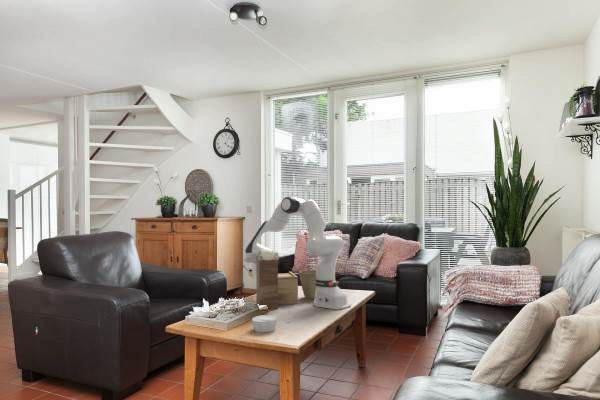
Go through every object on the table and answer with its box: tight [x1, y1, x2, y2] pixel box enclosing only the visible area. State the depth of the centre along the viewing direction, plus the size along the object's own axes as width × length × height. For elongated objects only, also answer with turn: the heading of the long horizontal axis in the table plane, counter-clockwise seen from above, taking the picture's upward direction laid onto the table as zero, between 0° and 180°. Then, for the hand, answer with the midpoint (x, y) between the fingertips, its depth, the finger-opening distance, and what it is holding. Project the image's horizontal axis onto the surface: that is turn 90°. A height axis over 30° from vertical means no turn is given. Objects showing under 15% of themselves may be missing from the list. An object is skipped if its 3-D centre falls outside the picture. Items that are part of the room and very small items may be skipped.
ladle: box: [260, 249, 275, 260], centre depth 240 cm, size 25×6×4 cm, turn 13°
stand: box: [256, 256, 299, 311], centre depth 247 cm, size 33×24×28 cm
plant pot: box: [298, 269, 316, 300], centre depth 260 cm, size 15×15×16 cm
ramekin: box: [251, 314, 277, 333], centre depth 192 cm, size 11×11×5 cm
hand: (263, 251), depth 249 cm, fingers closed on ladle, 3 cm apart
